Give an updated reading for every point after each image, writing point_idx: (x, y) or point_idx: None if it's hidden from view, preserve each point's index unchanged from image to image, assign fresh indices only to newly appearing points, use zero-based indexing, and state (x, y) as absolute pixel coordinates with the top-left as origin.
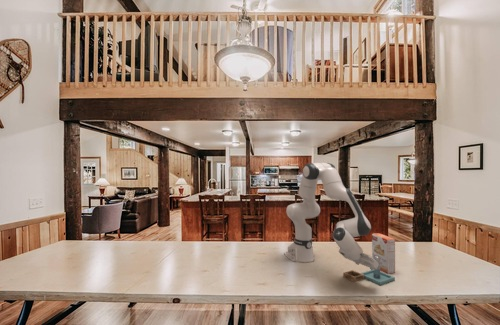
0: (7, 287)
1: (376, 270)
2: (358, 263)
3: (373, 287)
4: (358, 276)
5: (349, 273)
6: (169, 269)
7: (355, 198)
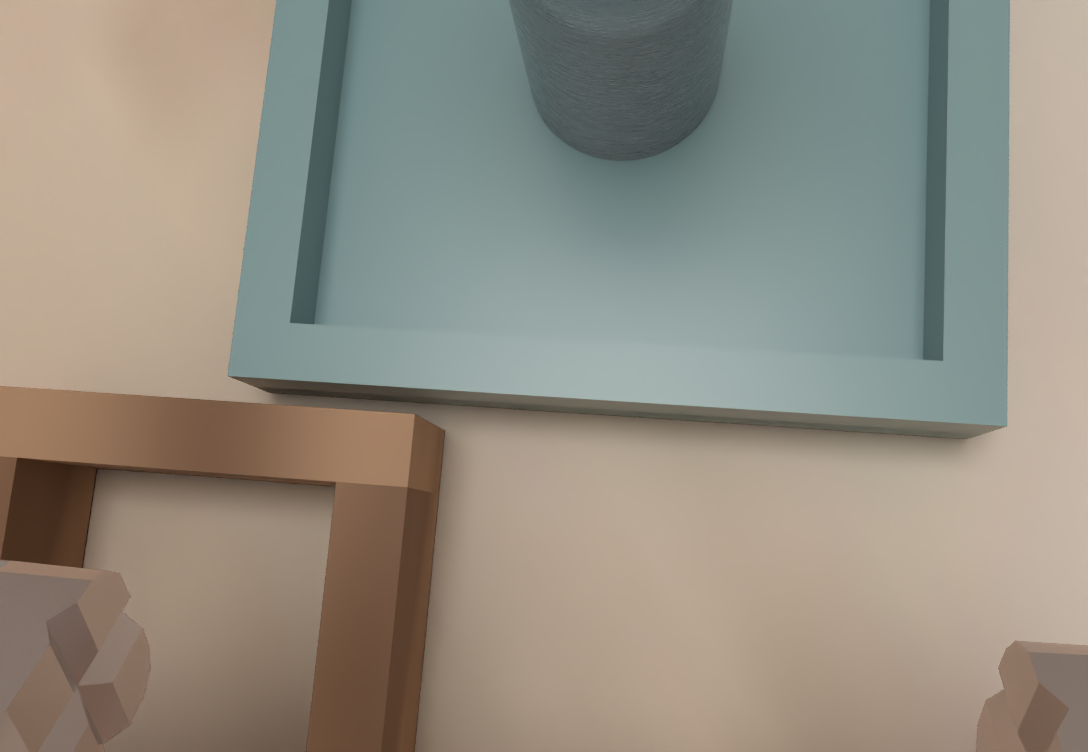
0: None
1: (675, 25)
2: (99, 693)
3: (923, 705)
4: (373, 707)
5: None
6: None
7: None
